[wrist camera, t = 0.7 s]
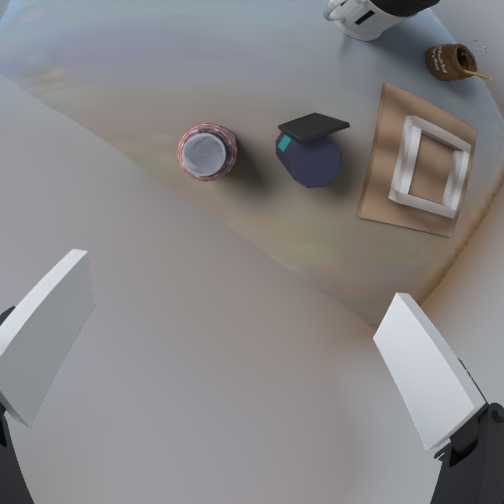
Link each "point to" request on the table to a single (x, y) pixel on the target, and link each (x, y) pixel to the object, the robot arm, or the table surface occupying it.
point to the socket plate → (417, 164)
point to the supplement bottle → (207, 152)
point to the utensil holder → (452, 62)
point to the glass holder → (371, 15)
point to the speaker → (310, 149)
